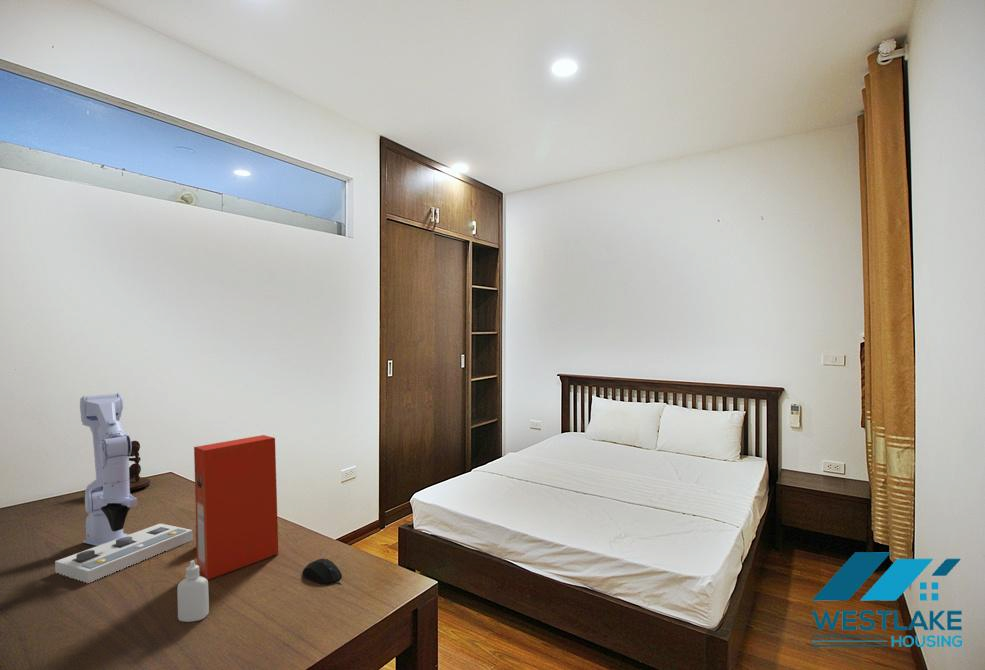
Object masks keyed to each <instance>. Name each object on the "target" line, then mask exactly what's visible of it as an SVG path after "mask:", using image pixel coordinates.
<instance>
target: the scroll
mask: <svg viewBox="0 0 985 670" xmlns="http://www.w3.org/2000/svg"><path fill="white" fill-rule="evenodd" d="M131 447H132V448H131V455H130V456H129V455H127V456H128V457H129V462H134V463H132V464H131V465H129V486H130V491H133V490H138V489H140V488H145V487H150V484H151V479H150V478H146V477H143V476H140V474H141V470H142V467H141V465H140V462H141V457H140V453H139V452H140V448H141V445H140V442H139V441H137V440H131Z"/></svg>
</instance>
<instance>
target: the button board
mask: <svg viewBox="0 0 985 670" xmlns="http://www.w3.org/2000/svg"><path fill="white" fill-rule="evenodd" d="M160 528H165V531H164V532H161V533H159V534H156V535H153V534H151V531H153V530H156V529H160ZM128 534H129V535H127V536H124V537H129V536H130V537H132V544H130V545H127V546H124V547H122V548H118V547H116V540H118V539H120V538H118V539H116V540H113V541H110V542H107V543H104V544H102V545H99V546H93V547H91V548H88V549H85V550H83V551H80V552H77V553H74V554H72V555H68V556H67V557H64V558H61V559H60V558H59V559H57V560H55V561H54V569H55V572H56V573H55V572H54V573H55V574H57V573H59V574H58V575H61V574H62V575H61V576H64V575H65V576H64V577H67V576H68V577H67V578H71V579H73V578H74V580H76V579H77V581H79V580H80V581H79V582H82V581H83V583H85V582H86V584H88V583H89V584H91V583H94V582H95V580H96V581H98V580H100V578H101V579H103V578H105V577H104V576H106V577H107V575H108V576H110V575H113V574H115V573H117V572H116V571H118V572H120V571H122V570H124V568H125V569H127V568H129V567H128V566H130V567H132V566H134V565H136V563H137V564H138V563H141V561H142V562H144V561H146V560H149V559H151V558H154V557H156V556H158V555H160V553H161V554H163V553H165V552H164V551H166V552H168V551H170V550H173V549H175V548H177V547H179V546H182V545H184V544H187V543H190V542H192V541H194V539H193V529H190V528H184V527H180V526H175V525H170V524H166V523H157V524H154V525H152V526H150V527H146V528H144V529H141V530H138V531H136V532H132V533H128ZM121 538H123V537H121ZM88 550H94V551H95V558H92V559H90V560H87V561H85V562H82V563H78V562H77V558H76V555H77V554H79V553H81V552H84V551H88ZM162 552H163V553H162ZM157 554H158V555H157ZM155 555H156V556H155ZM153 556H154V557H153ZM150 557H151V558H150ZM148 558H149V559H148ZM145 559H146V560H145ZM143 560H144V561H143ZM133 564H134V565H133ZM131 565H132V566H131ZM126 567H127V568H126ZM119 570H120V571H119ZM114 572H115V573H114ZM112 573H113V574H112ZM109 574H110V575H109ZM102 577H103V578H102ZM97 579H98V580H97ZM93 581H94V582H93ZM90 582H91V583H90Z"/></svg>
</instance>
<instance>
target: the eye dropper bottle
mask: <svg viewBox="0 0 985 670" xmlns="http://www.w3.org/2000/svg"><path fill="white" fill-rule="evenodd" d="M176 589H177V591H176V592H177V619H178V621H180V622H183V623H184V622H186V623H190V622H198V621H201V620H202V621H203V620H204V619H205V618H206V617H207V616H208V615H209V613H210V603H209V602H210V599H209V581H208V580H207V579H206V578H205V577H204V576H202V575H200V573H199V566H198V565H197V564H196V561H195V560H191V561H190V562H189V566H187V567H186V568H185V578H184V579H182V580H181V581H180V582H179V583H178V585H177V588H176Z"/></svg>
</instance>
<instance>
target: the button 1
mask: <svg viewBox="0 0 985 670" xmlns="http://www.w3.org/2000/svg"><path fill="white" fill-rule="evenodd" d="M87 550H88V549H87ZM83 551H84V552H82V551H80V552H81V553H79V552H78V553H79V554H77V553H76V554H77V555H76V558H77V562H78V563H82V562H85V561H87V560H90V559H92V558H95V551H94V550H88V551H85V550H83Z"/></svg>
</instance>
